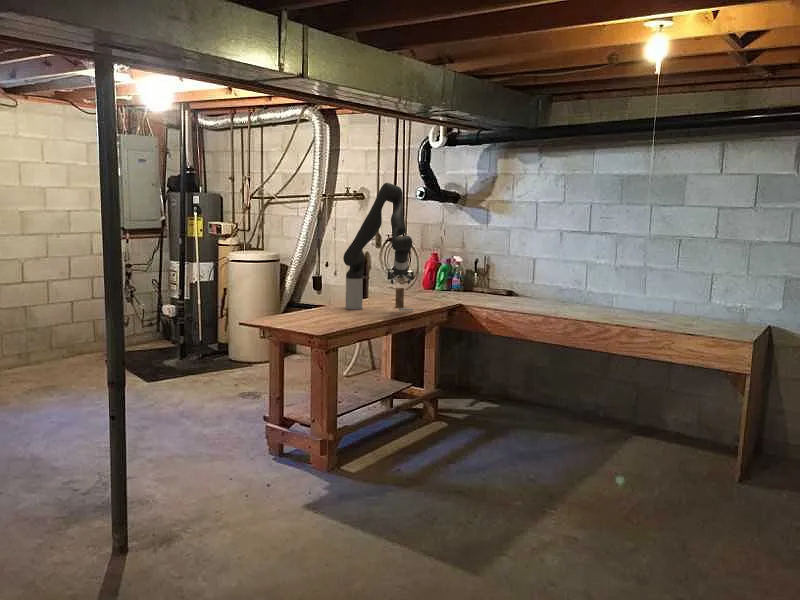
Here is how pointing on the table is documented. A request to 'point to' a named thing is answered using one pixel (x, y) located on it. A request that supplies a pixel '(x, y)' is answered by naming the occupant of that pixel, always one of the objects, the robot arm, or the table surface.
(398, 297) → the block
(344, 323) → the table surface
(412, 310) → the mat
